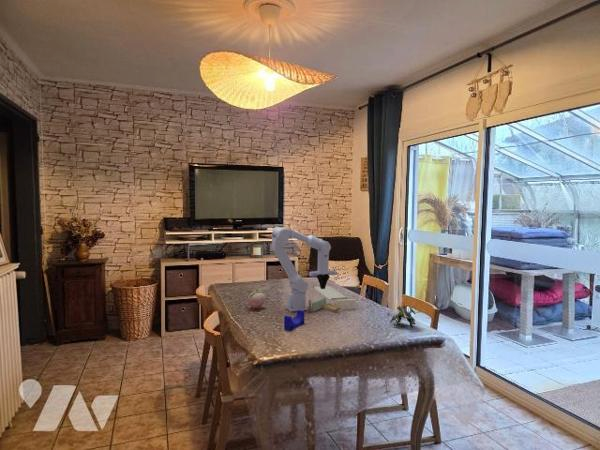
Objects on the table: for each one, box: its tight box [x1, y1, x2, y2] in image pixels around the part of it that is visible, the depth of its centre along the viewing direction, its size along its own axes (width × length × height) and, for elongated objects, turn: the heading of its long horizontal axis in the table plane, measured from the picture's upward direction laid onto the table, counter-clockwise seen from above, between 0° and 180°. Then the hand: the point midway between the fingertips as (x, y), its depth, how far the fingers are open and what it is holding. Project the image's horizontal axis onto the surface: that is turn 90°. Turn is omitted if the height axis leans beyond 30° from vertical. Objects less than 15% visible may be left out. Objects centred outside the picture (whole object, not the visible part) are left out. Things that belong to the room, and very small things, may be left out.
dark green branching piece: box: [386, 305, 417, 328], centre depth 171 cm, size 11×11×12 cm
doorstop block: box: [322, 302, 342, 314], centre depth 197 cm, size 4×10×2 cm, turn 35°
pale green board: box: [308, 298, 356, 314], centre depth 196 cm, size 25×1×6 cm, turn 108°
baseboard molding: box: [311, 284, 348, 300], centre depth 235 cm, size 31×3×12 cm
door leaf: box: [311, 297, 327, 312], centre depth 199 cm, size 12×2×4 cm, turn 144°
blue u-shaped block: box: [283, 310, 305, 332], centre depth 171 cm, size 12×4×6 cm, turn 148°
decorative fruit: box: [247, 289, 267, 310], centre depth 198 cm, size 9×8×10 cm
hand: (322, 288), depth 204 cm, fingers closed
